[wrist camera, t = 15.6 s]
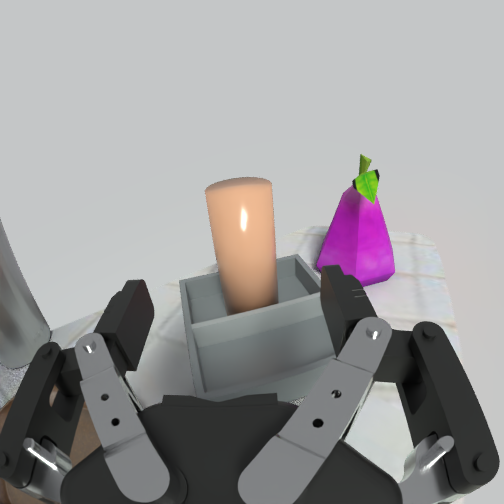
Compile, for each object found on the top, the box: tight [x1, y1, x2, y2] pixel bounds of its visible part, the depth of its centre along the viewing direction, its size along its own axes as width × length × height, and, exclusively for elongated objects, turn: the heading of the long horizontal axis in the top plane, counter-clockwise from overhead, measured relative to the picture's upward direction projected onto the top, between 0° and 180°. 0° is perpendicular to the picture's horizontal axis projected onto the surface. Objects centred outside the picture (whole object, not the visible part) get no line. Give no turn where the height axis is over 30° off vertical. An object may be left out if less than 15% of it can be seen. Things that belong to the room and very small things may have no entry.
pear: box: [316, 154, 395, 287], centre depth 33 cm, size 11×11×15 cm
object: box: [0, 385, 101, 504], centre depth 13 cm, size 18×18×3 cm
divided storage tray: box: [179, 254, 336, 402], centre depth 27 cm, size 14×16×4 cm
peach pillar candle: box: [205, 177, 279, 316], centre depth 27 cm, size 6×6×13 cm
